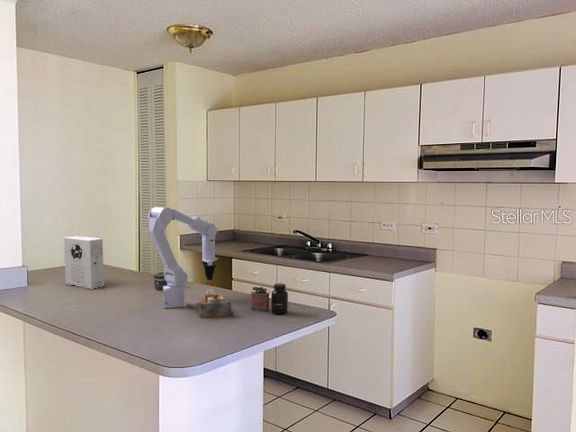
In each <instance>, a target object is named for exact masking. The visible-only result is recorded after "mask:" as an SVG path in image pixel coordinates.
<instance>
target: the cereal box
mask: <svg viewBox="0 0 576 432" xmlns="http://www.w3.org/2000/svg"><path fill="white" fill-rule="evenodd" d="M103 242H104V241H103V238H99V237H91V236H89V237H88V236H80V235H75V236H64V237H63V244H64V246H63V247H64V251H63V252H64V271H65V272H64V273H65V274H64V275H65V284H66V283H67V284H71V285H76V286H81V287H86V288H91V289H92V288H97V287H101V288H103V287H102V286H104V287H105V278H104V277H105V276H104V272H105V271H104V247H103V245H104V243H103ZM76 286H75V287H76ZM81 287H80V288H81ZM86 288H85V289H86ZM91 289H90V290H91ZM97 289H98V288H97ZM92 290H93V289H92Z"/></svg>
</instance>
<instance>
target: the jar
mask: <svg viewBox="0 0 576 432" xmlns="http://www.w3.org/2000/svg"><path fill="white" fill-rule="evenodd" d="M164 275H165V274H164V271H163V272H157V273H154V274H153V282H154V283H153V285H154V289H155V290H156V289H157V290H156V291H160V290H163V286H168V285H167V282H166V280H165V278H164Z"/></svg>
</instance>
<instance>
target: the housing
mask: <svg viewBox="0 0 576 432" xmlns="http://www.w3.org/2000/svg"><path fill="white" fill-rule="evenodd" d="M223 301H224V297H223V296H219V297H217V295H214V297H208V303H214V302H223Z"/></svg>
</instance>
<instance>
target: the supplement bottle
mask: <svg viewBox="0 0 576 432" xmlns="http://www.w3.org/2000/svg"><path fill="white" fill-rule="evenodd" d="M286 286H287V285H286V283H280V282H279V283H274V285H273V290H272V292H271V297H270V298H271V300H270V301H271V305H270V306H271V310H270V311H271V314H273V315H276V316H283V315H287V313H288V312H289V310H288V309H289V304H288V303H289V292H288V291H287V288H286Z"/></svg>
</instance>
